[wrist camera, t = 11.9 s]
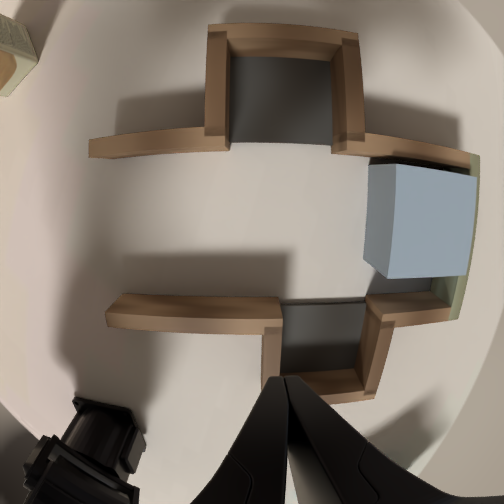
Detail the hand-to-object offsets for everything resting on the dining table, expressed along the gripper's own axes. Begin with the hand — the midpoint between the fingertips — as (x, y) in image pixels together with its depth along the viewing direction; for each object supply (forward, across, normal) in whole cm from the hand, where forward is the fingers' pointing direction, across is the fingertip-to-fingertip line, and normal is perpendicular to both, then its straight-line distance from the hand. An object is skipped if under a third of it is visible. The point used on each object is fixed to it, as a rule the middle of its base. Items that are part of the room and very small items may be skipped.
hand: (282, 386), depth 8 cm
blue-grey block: (+11, -9, -4) cm, 15 cm away
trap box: (+11, -2, -3) cm, 11 cm away
